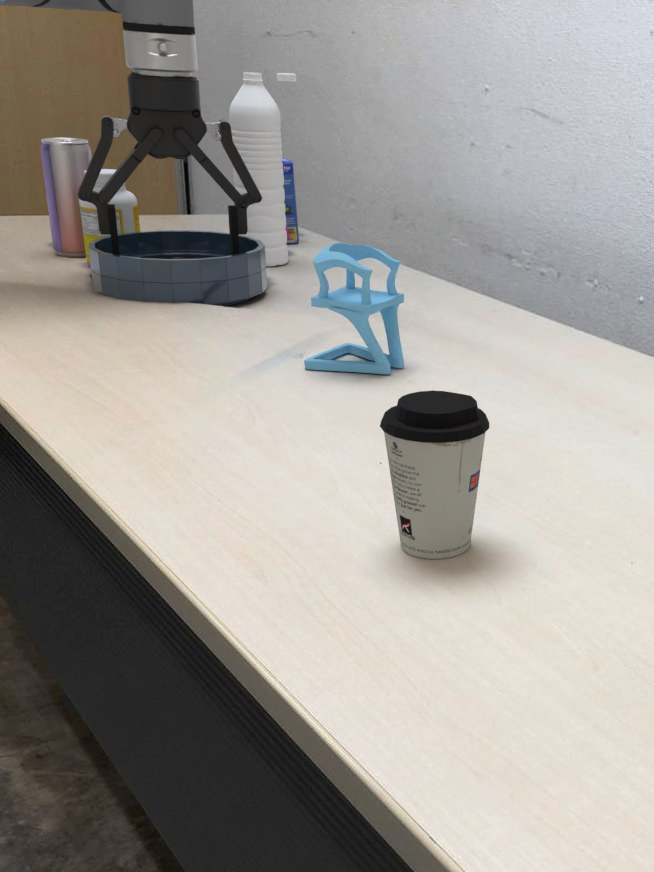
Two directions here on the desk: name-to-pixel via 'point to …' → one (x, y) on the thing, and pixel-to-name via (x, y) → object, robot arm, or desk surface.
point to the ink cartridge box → (290, 202)
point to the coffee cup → (435, 469)
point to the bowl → (179, 267)
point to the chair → (359, 310)
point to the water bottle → (262, 162)
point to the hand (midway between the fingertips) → (177, 262)
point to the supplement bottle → (123, 207)
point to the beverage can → (65, 191)
